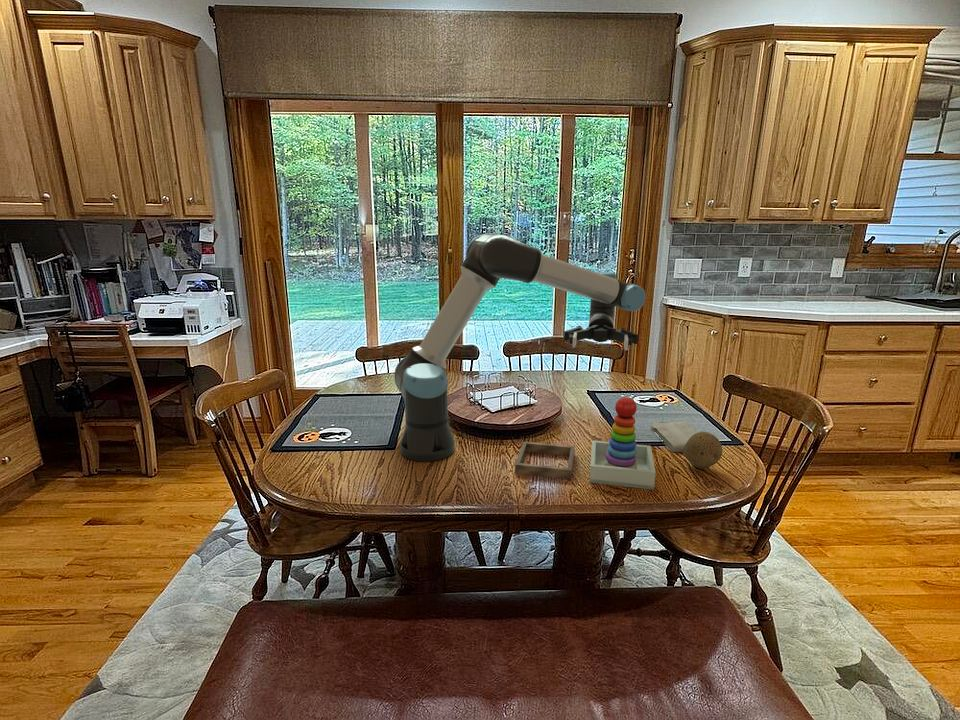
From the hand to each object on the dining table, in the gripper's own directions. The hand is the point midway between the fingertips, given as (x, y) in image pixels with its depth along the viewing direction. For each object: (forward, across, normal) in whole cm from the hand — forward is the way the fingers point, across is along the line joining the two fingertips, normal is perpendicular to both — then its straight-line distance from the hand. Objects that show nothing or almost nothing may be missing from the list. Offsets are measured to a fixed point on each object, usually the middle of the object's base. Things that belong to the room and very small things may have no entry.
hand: (599, 344), depth 135 cm
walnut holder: (+13, +12, -30) cm, 35 cm away
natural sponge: (+7, -27, -30) cm, 41 cm away
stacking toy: (+13, -7, -29) cm, 33 cm away
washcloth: (-12, -24, -31) cm, 41 cm away
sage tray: (+13, -7, -30) cm, 33 cm away
